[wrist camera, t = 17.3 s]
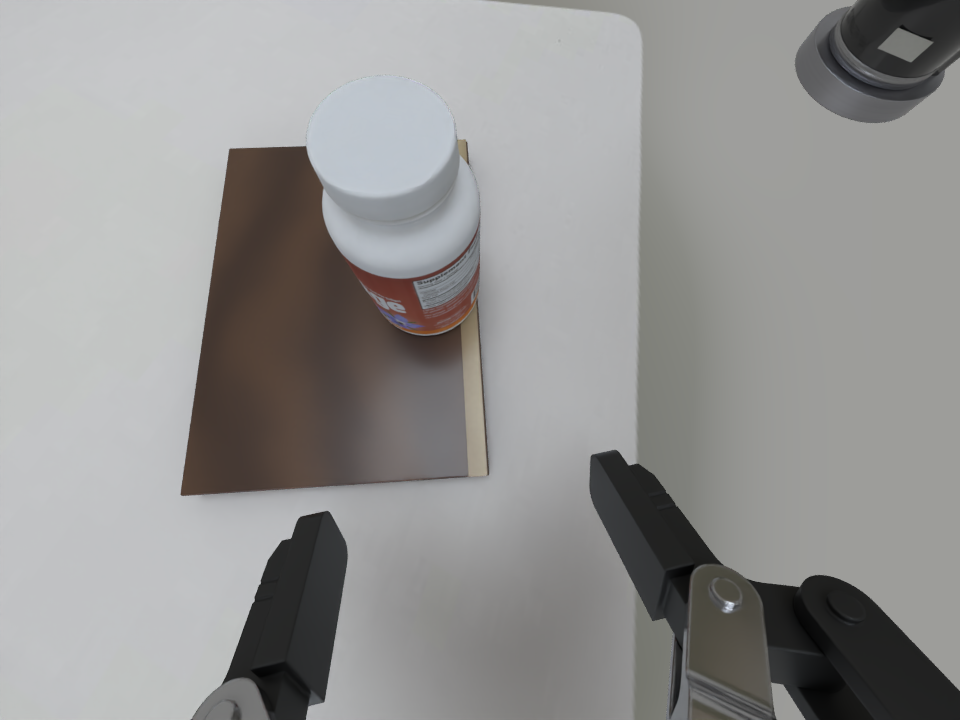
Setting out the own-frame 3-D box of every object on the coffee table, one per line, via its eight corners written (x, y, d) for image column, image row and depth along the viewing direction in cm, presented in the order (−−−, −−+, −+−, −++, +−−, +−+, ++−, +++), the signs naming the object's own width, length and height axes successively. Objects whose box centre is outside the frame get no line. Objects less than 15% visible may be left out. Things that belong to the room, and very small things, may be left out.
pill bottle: (358, 277, 22) (243, 108, 11) (443, 228, 23) (412, 28, 12) (411, 359, 21) (338, 255, 10) (499, 303, 22) (520, 152, 11)
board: (467, 158, 26) (467, 139, 25) (487, 474, 21) (489, 475, 19) (242, 165, 26) (227, 146, 24) (200, 493, 20) (177, 496, 18)
